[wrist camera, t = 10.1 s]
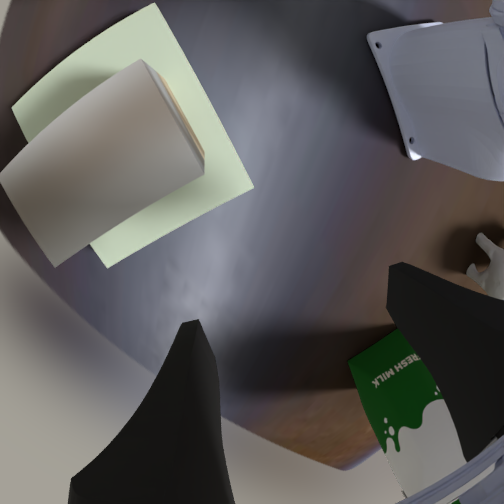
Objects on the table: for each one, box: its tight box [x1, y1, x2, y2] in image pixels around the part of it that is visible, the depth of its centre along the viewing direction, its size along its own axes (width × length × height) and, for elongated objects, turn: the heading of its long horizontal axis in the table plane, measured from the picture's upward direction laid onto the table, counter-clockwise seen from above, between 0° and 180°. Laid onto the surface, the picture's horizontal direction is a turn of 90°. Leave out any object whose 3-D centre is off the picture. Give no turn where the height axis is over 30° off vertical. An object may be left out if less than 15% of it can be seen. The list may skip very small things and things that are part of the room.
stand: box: [12, 3, 254, 268], centre depth 14 cm, size 12×10×2 cm
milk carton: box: [347, 328, 496, 504], centre depth 19 cm, size 9×9×20 cm
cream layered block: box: [0, 59, 205, 267], centre depth 11 cm, size 4×7×6 cm, turn 115°
